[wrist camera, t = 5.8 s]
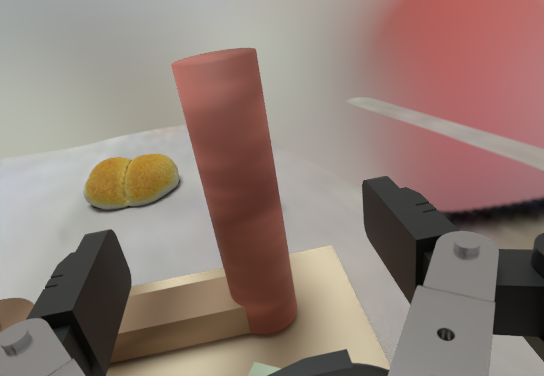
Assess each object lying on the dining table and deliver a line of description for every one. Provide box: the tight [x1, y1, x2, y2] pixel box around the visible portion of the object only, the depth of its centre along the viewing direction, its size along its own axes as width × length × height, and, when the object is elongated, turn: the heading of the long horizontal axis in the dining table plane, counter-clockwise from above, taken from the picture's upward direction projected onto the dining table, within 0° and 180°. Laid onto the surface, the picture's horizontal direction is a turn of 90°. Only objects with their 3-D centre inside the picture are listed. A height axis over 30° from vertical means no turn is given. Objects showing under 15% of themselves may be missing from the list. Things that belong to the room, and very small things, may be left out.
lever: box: [0, 48, 297, 363], centre depth 16 cm, size 17×5×12 cm, turn 97°
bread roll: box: [83, 154, 179, 210], centre depth 39 cm, size 8×9×4 cm
